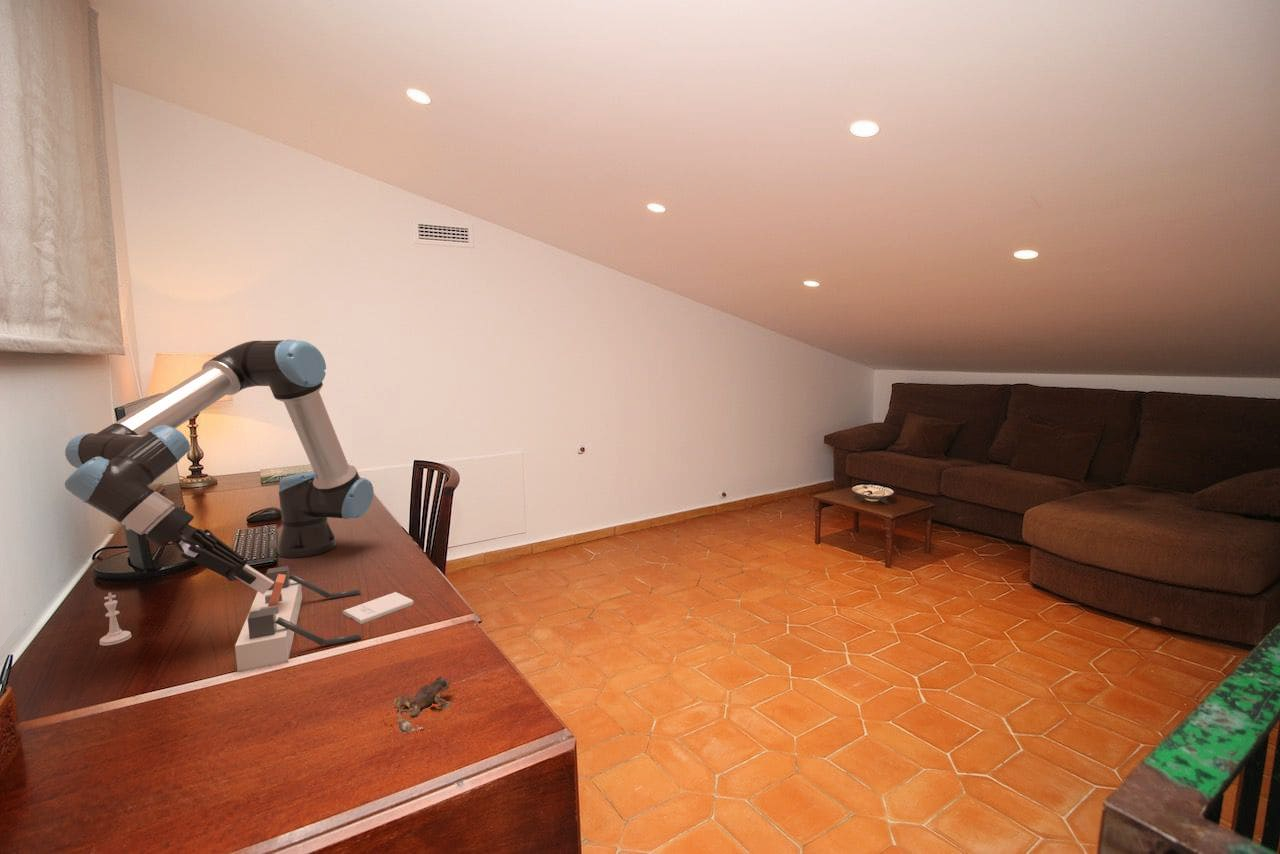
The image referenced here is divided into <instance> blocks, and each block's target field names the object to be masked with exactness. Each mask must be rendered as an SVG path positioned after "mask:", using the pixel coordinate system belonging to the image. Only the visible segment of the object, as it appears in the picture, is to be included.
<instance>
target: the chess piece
mask: <svg viewBox="0 0 1280 854" xmlns="http://www.w3.org/2000/svg"><path fill="white" fill-rule="evenodd" d="M107 595H108V596H104V600H105V601H106V600H108V601H106V602H104V603H103V604H104V607H105V608H106V610H107V611H108V612H106V613H105V616H104V617H107V618H108V617H109V626H108V627H109V628H108V632H107V633H106V635H104V636H102V637H101V638H99V645H100V646H112V645H117V644H121V643H123V642H126V641H128V640H130V639H131V638H132V633H131V631H129V630H123V629H121V627H120V625H119V623H118V618H117V615H119V614H120V611H119V610H116V609H117V606H118V602H119V601H118V600H116V599H115V598H117V596H116V594H112V592H108V593H107Z"/></svg>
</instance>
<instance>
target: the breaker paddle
mask: <svg viewBox="0 0 1280 854" xmlns="http://www.w3.org/2000/svg"><path fill="white" fill-rule="evenodd" d="M285 577H286V575H284V574H278V576H277V579H276V581H275V585H274V588H273V591H272V595H271V598H270V601H269V605H268V606H273V605H277V603H278V600H279V597H280V594H281V590H282V587H283V584H284V580H285Z"/></svg>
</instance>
